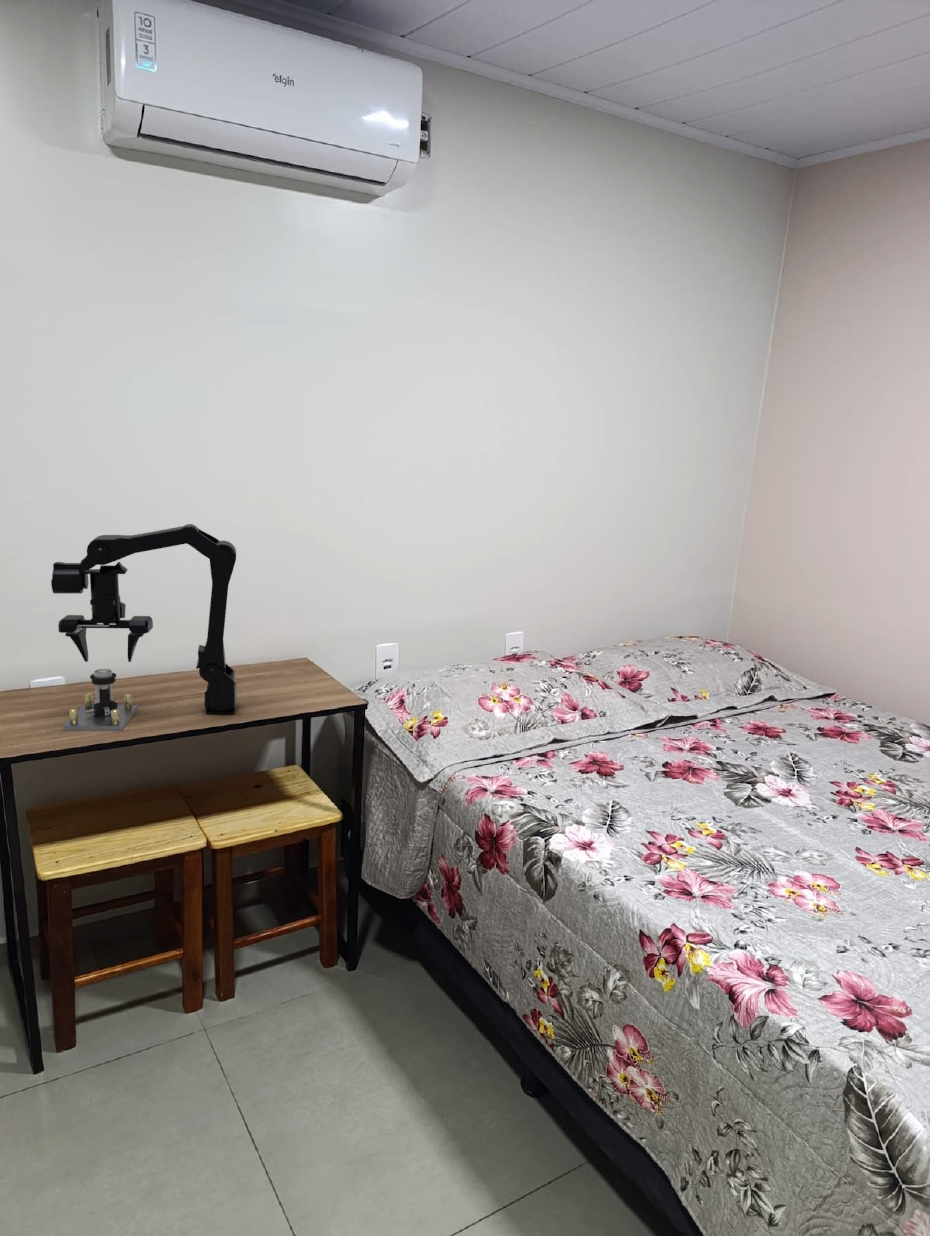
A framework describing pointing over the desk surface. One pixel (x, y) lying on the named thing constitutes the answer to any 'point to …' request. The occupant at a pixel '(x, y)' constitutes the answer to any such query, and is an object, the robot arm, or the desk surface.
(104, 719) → the chassis
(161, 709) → the desk surface
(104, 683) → the push button
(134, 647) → the robot arm
